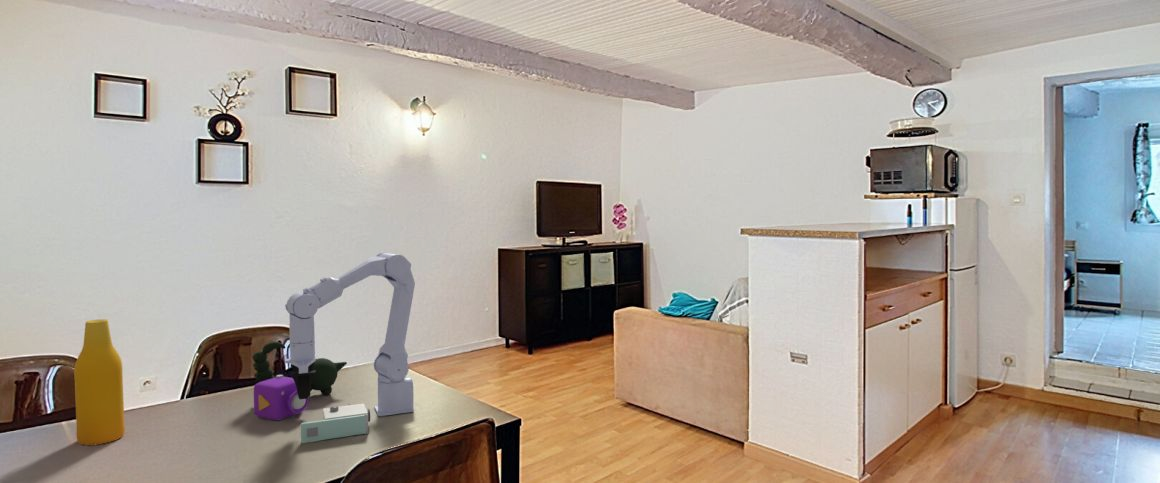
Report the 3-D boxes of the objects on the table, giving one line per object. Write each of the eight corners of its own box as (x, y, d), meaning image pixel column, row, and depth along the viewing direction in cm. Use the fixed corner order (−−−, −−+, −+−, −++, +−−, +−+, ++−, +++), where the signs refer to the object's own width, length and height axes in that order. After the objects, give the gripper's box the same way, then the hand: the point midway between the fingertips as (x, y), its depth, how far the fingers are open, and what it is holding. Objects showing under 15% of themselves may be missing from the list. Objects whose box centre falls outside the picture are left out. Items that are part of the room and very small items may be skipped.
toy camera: (293, 424, 160) (292, 387, 160) (247, 420, 163) (246, 383, 162) (318, 410, 171) (318, 375, 170) (275, 407, 174) (274, 372, 173)
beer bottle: (84, 434, 152) (79, 318, 150) (129, 429, 155) (125, 316, 153) (70, 448, 143) (65, 325, 141) (119, 443, 147) (114, 323, 145)
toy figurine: (261, 415, 172) (353, 392, 185) (252, 349, 169) (346, 331, 183) (257, 405, 179) (346, 384, 193) (249, 342, 177) (339, 326, 191)
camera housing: (368, 421, 163) (367, 399, 163) (372, 431, 156) (372, 409, 156) (323, 427, 159) (322, 405, 158) (325, 438, 151) (325, 415, 151)
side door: (368, 432, 155) (367, 413, 155) (368, 433, 154) (368, 415, 154) (301, 442, 149) (300, 422, 148) (301, 443, 147) (300, 424, 147)
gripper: (284, 336, 159) (285, 387, 160) (284, 349, 146) (285, 404, 147) (314, 334, 162) (315, 384, 163) (316, 346, 149) (317, 401, 150)
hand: (303, 394), depth 155 cm, fingers open, 7 cm apart
